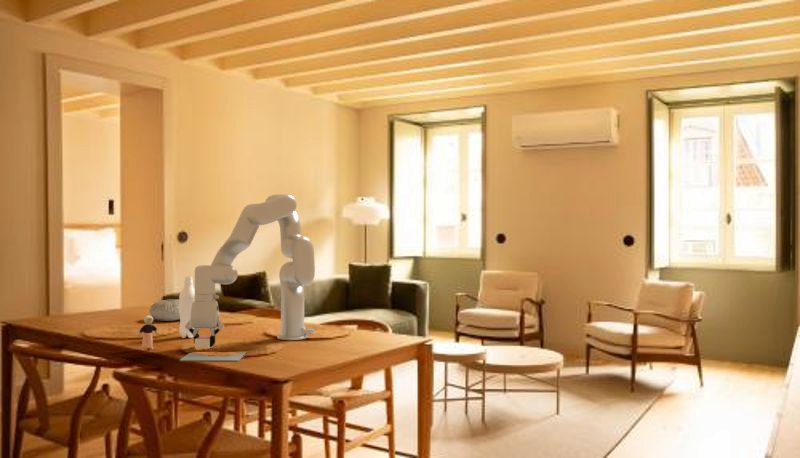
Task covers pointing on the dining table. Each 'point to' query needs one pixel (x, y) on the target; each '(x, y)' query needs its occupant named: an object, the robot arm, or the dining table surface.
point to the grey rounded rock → (166, 310)
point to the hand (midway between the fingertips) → (204, 345)
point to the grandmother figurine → (147, 333)
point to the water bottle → (186, 306)
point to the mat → (212, 357)
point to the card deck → (202, 342)
